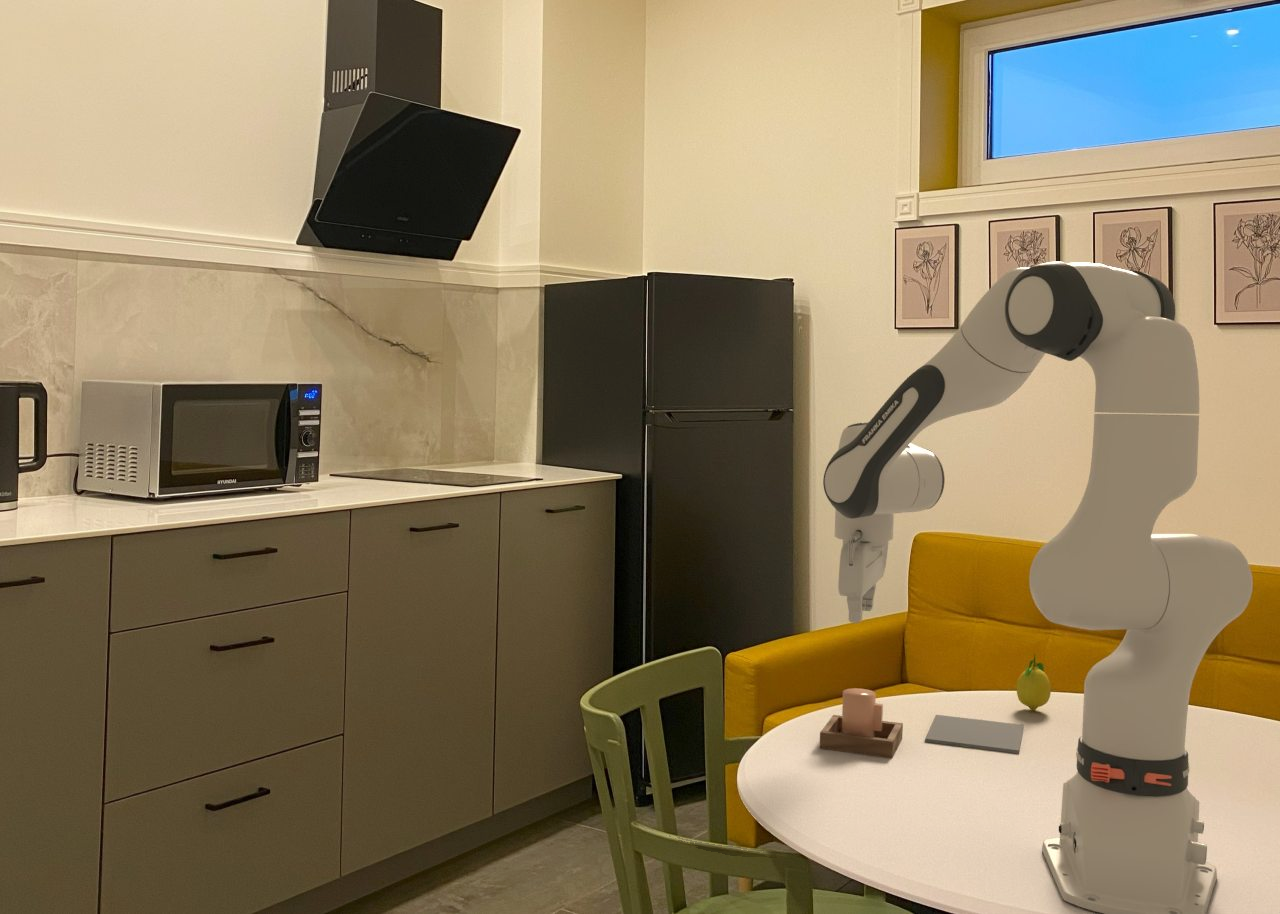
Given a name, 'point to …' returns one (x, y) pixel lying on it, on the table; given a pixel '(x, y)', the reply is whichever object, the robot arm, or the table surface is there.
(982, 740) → the mat
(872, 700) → the capsule with tab
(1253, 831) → the table surface
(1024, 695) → the lemon
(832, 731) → the brown wooden frame
